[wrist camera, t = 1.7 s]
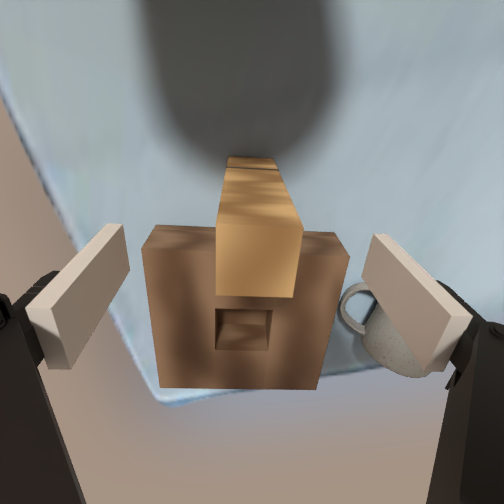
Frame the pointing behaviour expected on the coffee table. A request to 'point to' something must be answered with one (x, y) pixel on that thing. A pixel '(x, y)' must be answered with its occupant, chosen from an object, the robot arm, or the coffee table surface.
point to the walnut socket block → (238, 315)
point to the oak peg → (256, 231)
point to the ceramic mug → (383, 338)
